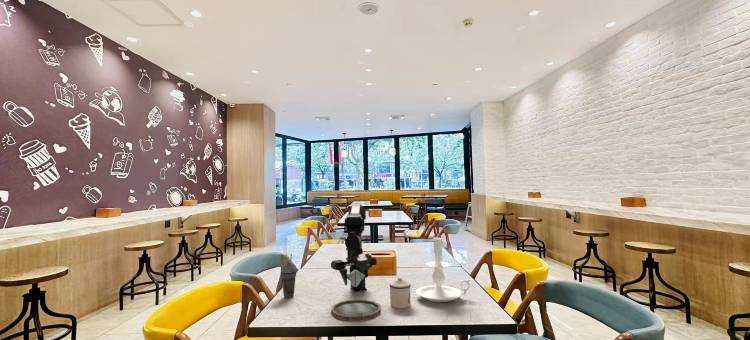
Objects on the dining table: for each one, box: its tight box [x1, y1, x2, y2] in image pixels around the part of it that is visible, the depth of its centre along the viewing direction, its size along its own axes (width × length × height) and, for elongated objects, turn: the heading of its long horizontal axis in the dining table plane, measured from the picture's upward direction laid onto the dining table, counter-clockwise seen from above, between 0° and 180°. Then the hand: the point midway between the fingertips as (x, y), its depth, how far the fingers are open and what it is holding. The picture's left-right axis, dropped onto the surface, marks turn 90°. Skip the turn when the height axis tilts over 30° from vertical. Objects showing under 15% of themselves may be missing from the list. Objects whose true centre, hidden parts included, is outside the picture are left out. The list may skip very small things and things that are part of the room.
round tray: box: [330, 298, 382, 322], centre depth 137 cm, size 20×20×2 cm
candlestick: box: [415, 236, 471, 303], centre depth 152 cm, size 21×25×28 cm
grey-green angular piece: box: [347, 270, 365, 287], centre depth 138 cm, size 8×4×7 cm, turn 96°
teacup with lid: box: [389, 276, 411, 309], centre depth 145 cm, size 12×9×12 cm
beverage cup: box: [280, 253, 298, 299], centre depth 157 cm, size 7×7×20 cm
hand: (354, 284), depth 138 cm, fingers closed on grey-green angular piece, 7 cm apart
